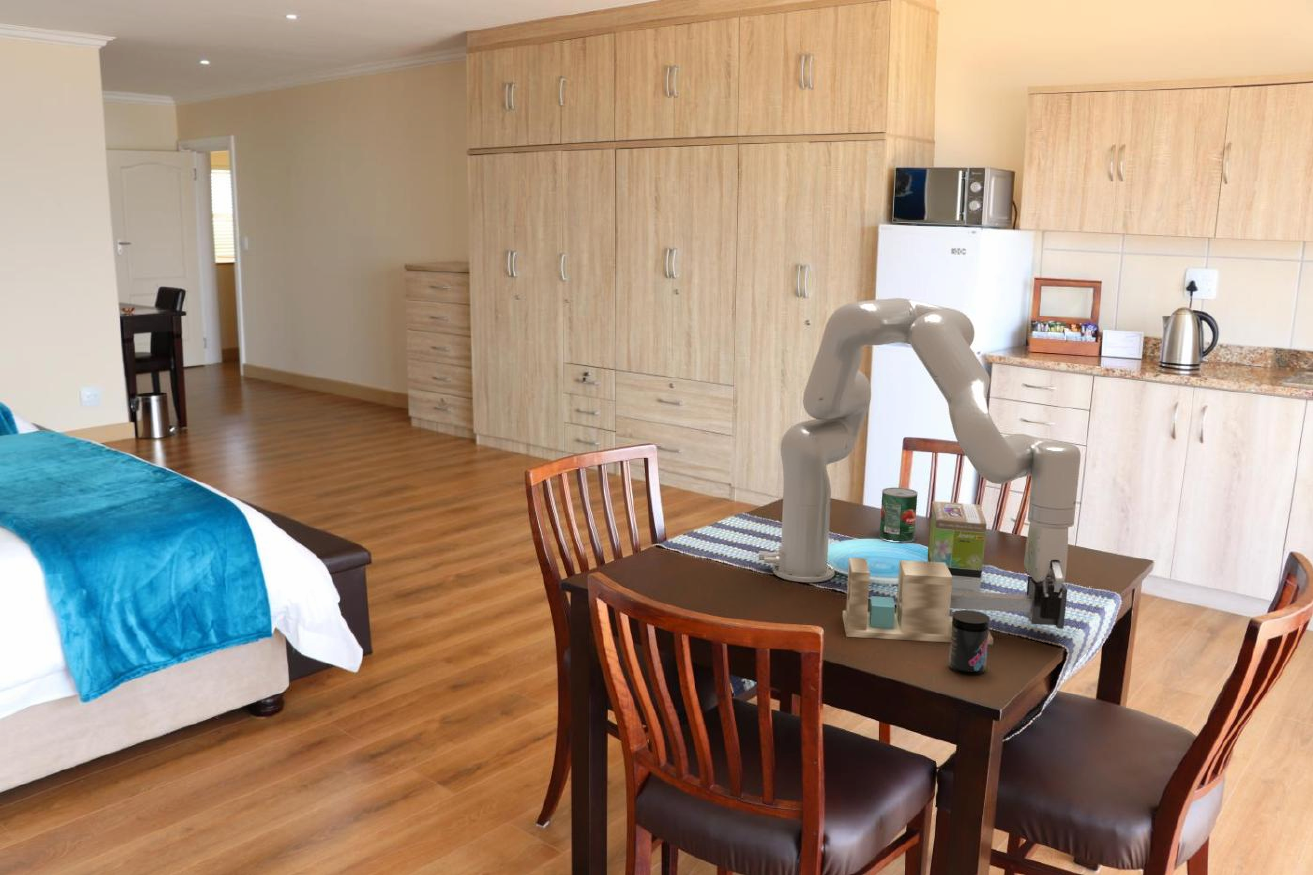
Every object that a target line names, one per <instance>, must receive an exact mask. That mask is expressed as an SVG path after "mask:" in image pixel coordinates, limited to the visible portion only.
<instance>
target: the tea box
mask: <svg viewBox="0 0 1313 875" xmlns="http://www.w3.org/2000/svg"><path fill="white" fill-rule="evenodd" d="M929 523H930V524H929V536H928V547H927V548H928V549H927V557H926V558H927V559H926V562H945V563H946V565H947V567H948V569H949V571H950V573H951V575H952V590H951V591H965V592H981V585H982V584H981V583H982V577H983V576H982V575H983V574H982V573H983V565H984V554H985V544H986V537H987V536H986V535H987V521H986V517H985V515H984V513H983V510H982V507H981V504H975V503H973V504H972V503H963V502H962V503H959V502H950V501H932V502H931V511H930V522H929Z"/></svg>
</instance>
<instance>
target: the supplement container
mask: <svg viewBox="0 0 1313 875" xmlns="http://www.w3.org/2000/svg"><path fill="white" fill-rule="evenodd" d="M990 622H991V618H990V617H989V615H987V614H986V613H983V612H980V611H978V610H972V609H959V610H956V611H954V612H953V613H952V631H951V642H950V644H949V645H950V646H949V659H948V666H949V667H950V669H951V670H952V671H953V672H955V673H959V674H961V675H964V676H965V675H966V676H977V675H980V674H982V673H984V671H985V670H986V666H987V654H988V645H989V644H988V633H989V632H990Z"/></svg>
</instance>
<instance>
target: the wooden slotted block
mask: <svg viewBox="0 0 1313 875" xmlns="http://www.w3.org/2000/svg"><path fill="white" fill-rule="evenodd" d="M898 568H899V569H898V582H897V596H896V597H897V598H896V608H895V610H896V611H895V615H894V629H886V628H873V627H870V618H869V616H870V611H868V610H869V595H870V594H869V592H870V577H871V576H870V574H871V573H870V568H869V565H868V561H867V558H861V557H860V558H859V557H849V558H848V568H847V569H848V572H847V590H846V606H845V610H842V620H843V625H844V631H845V636H846V638H847V637H848V638H850V637H851V638H865V639H866V638H867V639H881V640H882V639H883V640H900V641H901V640H902V641H903V640H904V641H905V640H906V641H919V642H920V641H921V642H922V641H923V642H939V643H941V642H942V643H951V631H952V616H953V615H952V616H950V614H951V613H950V612H951V608H950V603H951V590H952V575H951V573H950V571H949V569H948V567H947V565H946V563H945V562H927V560H926V561H923V560H921V561H920V560H904V559H903V560H901V559H900V560H899V566H898ZM988 645H990V646H993V645H994V637H993V635H992V634H991V631H989V633H988Z"/></svg>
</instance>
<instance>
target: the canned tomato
mask: <svg viewBox="0 0 1313 875" xmlns="http://www.w3.org/2000/svg"><path fill="white" fill-rule="evenodd" d="M881 492H882V493H881V494H882V495H881V507H880V509H881V510H880V521H879V522H880V524H879V535H878V536H879V539H880V540H882V539H886V540H893V541H899V542H908V543H911V542H912V543H913V541H915V539H916V538H915V535H916V534H915V533H916V521H917V520H916V519H917V505H918V491H916V490H914V489H911V488H906V487H895V486H894V487H885V488H883V489H882V491H881ZM908 543H907V544H908Z"/></svg>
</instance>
